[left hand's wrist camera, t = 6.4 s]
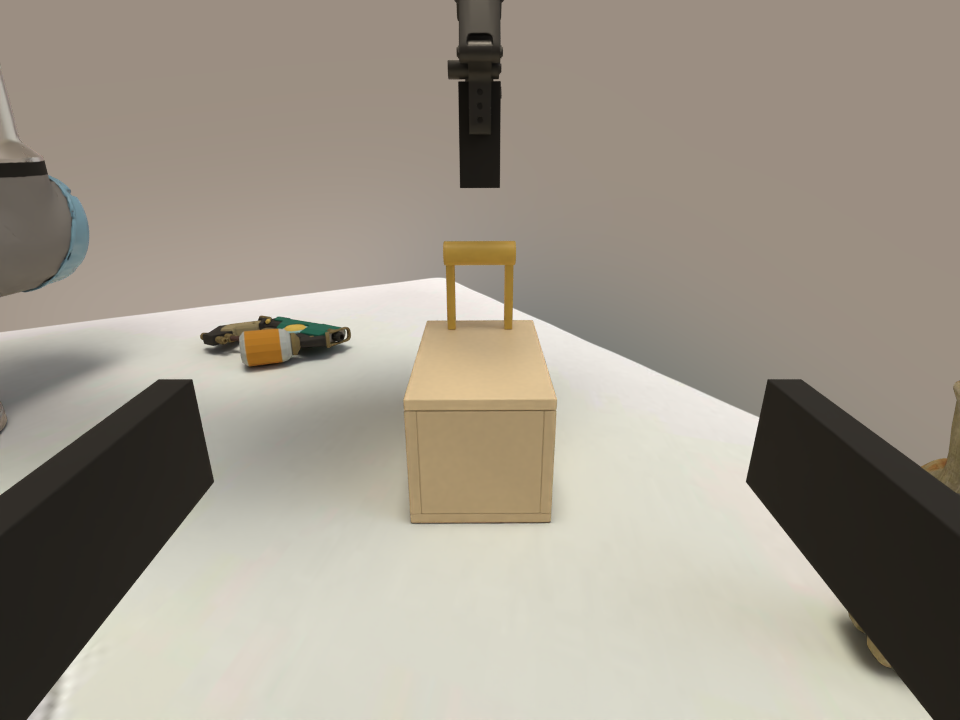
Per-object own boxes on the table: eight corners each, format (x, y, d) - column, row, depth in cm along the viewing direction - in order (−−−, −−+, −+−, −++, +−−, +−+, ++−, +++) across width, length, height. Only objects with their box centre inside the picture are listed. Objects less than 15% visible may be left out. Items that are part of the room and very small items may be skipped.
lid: (427, 328, 51) (423, 237, 48) (532, 328, 51) (535, 236, 48) (403, 411, 35) (395, 281, 32) (556, 410, 35) (563, 281, 32)
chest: (430, 415, 54) (426, 330, 51) (530, 414, 54) (533, 330, 51) (410, 523, 38) (403, 411, 35) (550, 522, 38) (556, 411, 35)
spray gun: (197, 349, 73) (304, 329, 82) (240, 378, 61) (359, 351, 70) (192, 318, 72) (300, 301, 81) (234, 342, 60) (356, 319, 69)
